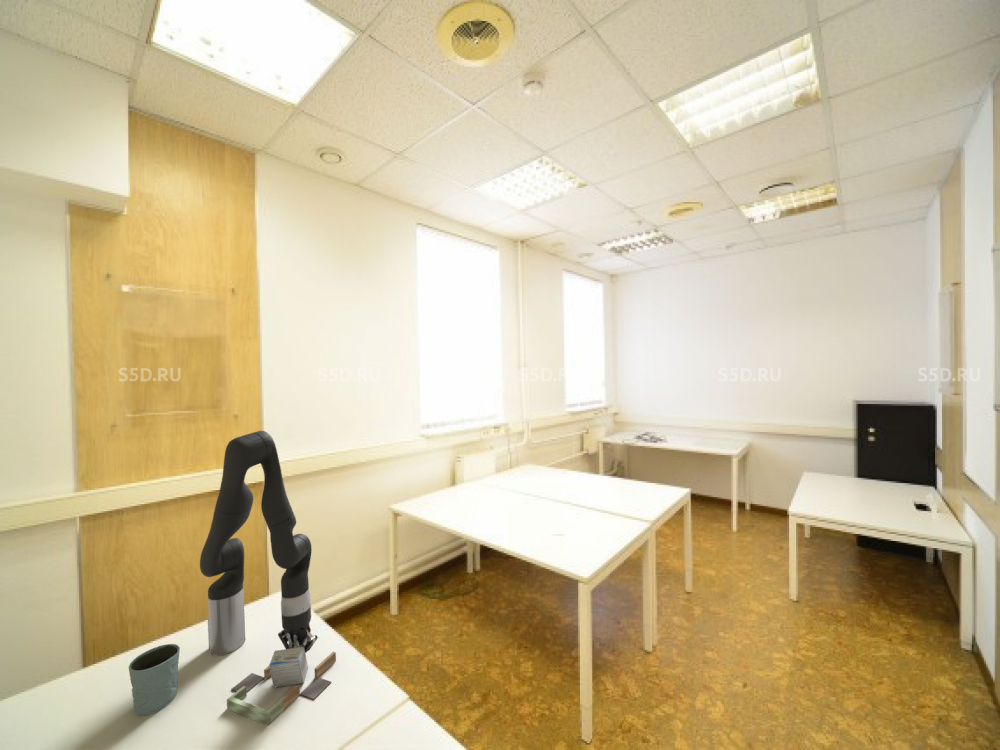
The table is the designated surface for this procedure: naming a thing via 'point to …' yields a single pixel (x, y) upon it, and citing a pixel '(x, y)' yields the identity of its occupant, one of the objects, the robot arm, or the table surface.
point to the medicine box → (288, 667)
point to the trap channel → (268, 716)
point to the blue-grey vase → (154, 678)
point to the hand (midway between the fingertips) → (299, 665)
